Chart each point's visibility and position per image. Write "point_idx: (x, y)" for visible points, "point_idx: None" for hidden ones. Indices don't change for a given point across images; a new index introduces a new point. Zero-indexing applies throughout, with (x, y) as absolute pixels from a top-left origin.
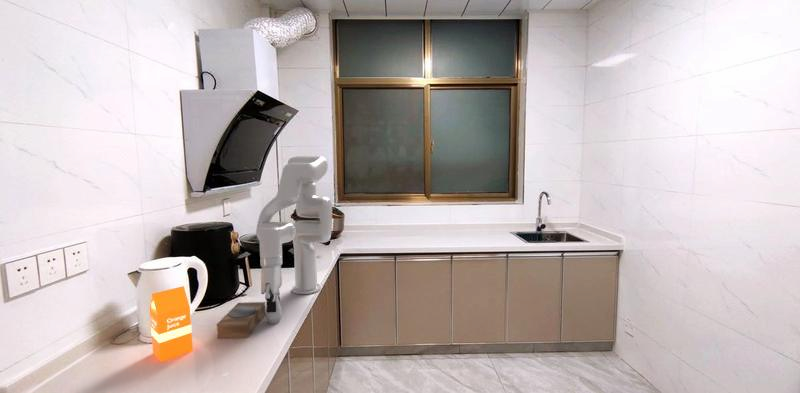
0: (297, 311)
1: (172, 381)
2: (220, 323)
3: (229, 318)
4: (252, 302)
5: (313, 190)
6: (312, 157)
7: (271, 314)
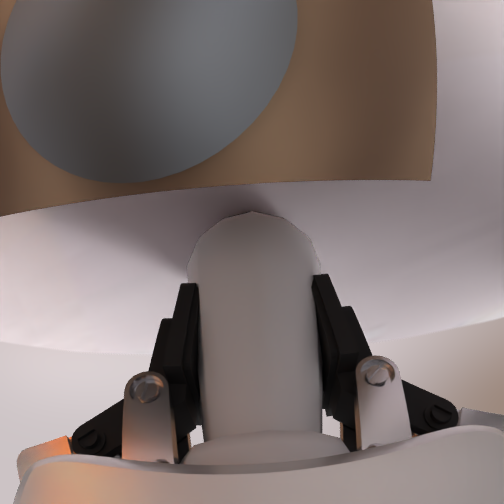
0: (386, 327)
1: None
2: None
3: (3, 11)
4: (432, 42)
5: None
6: None
7: None
